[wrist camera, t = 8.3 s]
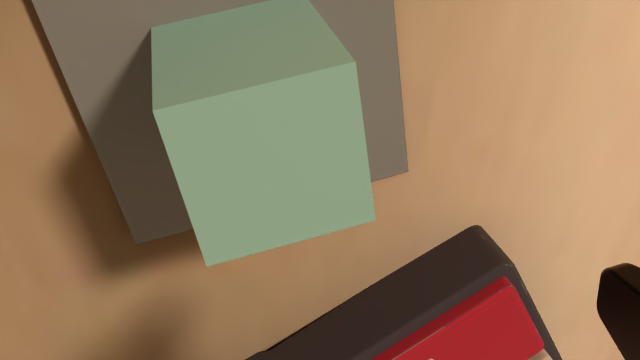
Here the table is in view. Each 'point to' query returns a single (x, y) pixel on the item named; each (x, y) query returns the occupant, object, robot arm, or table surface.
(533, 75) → the table surface
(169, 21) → the pad
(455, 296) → the calculator
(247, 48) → the teal block
